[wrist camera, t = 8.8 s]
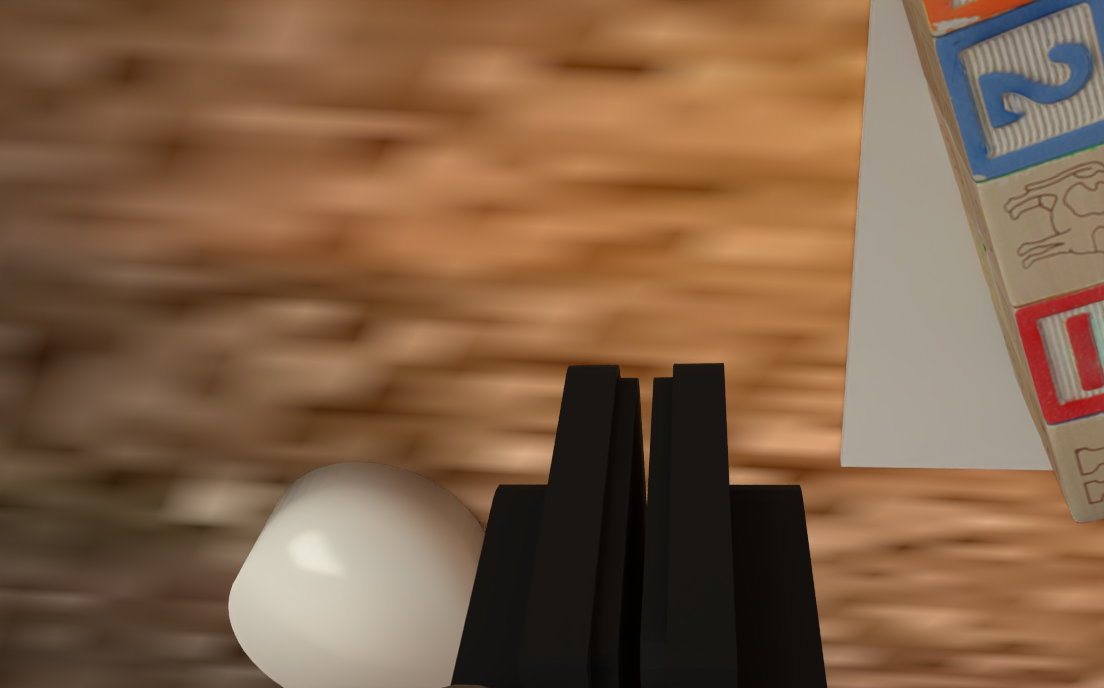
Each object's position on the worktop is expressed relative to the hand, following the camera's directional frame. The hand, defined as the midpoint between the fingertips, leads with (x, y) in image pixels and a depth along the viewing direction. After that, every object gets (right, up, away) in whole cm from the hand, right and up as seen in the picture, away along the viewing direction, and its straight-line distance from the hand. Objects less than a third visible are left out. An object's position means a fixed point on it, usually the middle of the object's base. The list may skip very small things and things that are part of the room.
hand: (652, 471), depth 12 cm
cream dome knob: (-7, -6, +26) cm, 27 cm away
